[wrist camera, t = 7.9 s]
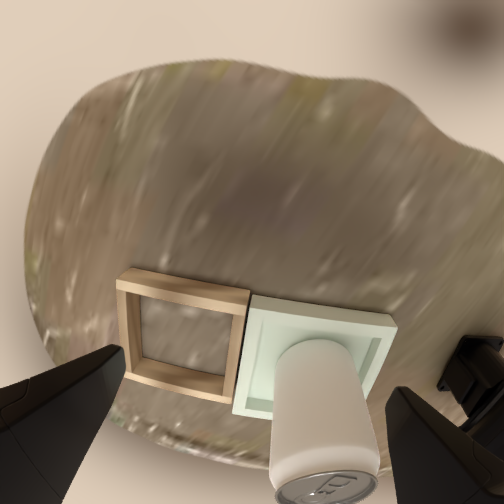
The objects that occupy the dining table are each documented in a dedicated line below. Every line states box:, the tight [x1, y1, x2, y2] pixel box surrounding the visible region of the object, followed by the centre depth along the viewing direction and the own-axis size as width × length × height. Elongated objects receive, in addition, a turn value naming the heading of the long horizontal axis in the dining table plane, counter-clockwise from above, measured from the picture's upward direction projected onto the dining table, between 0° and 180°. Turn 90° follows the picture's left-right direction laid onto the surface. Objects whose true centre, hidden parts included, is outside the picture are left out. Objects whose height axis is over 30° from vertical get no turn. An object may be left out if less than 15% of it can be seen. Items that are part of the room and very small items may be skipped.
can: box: [269, 339, 380, 504], centre depth 17 cm, size 6×6×12 cm
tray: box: [232, 294, 398, 420], centre depth 22 cm, size 11×11×2 cm
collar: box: [116, 268, 250, 404], centre depth 22 cm, size 10×10×2 cm
